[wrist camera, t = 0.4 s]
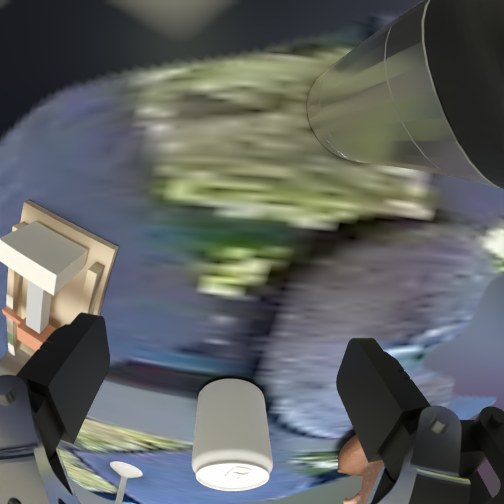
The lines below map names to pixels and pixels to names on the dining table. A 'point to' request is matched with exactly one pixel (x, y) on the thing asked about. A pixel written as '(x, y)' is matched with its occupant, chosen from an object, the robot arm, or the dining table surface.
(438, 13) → the robot arm
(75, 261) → the plunger
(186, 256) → the dining table surface
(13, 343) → the frame
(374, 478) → the ceramic jug
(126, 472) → the champagne flute
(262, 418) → the beverage can
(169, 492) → the dining table surface
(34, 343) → the orange stepped bar
